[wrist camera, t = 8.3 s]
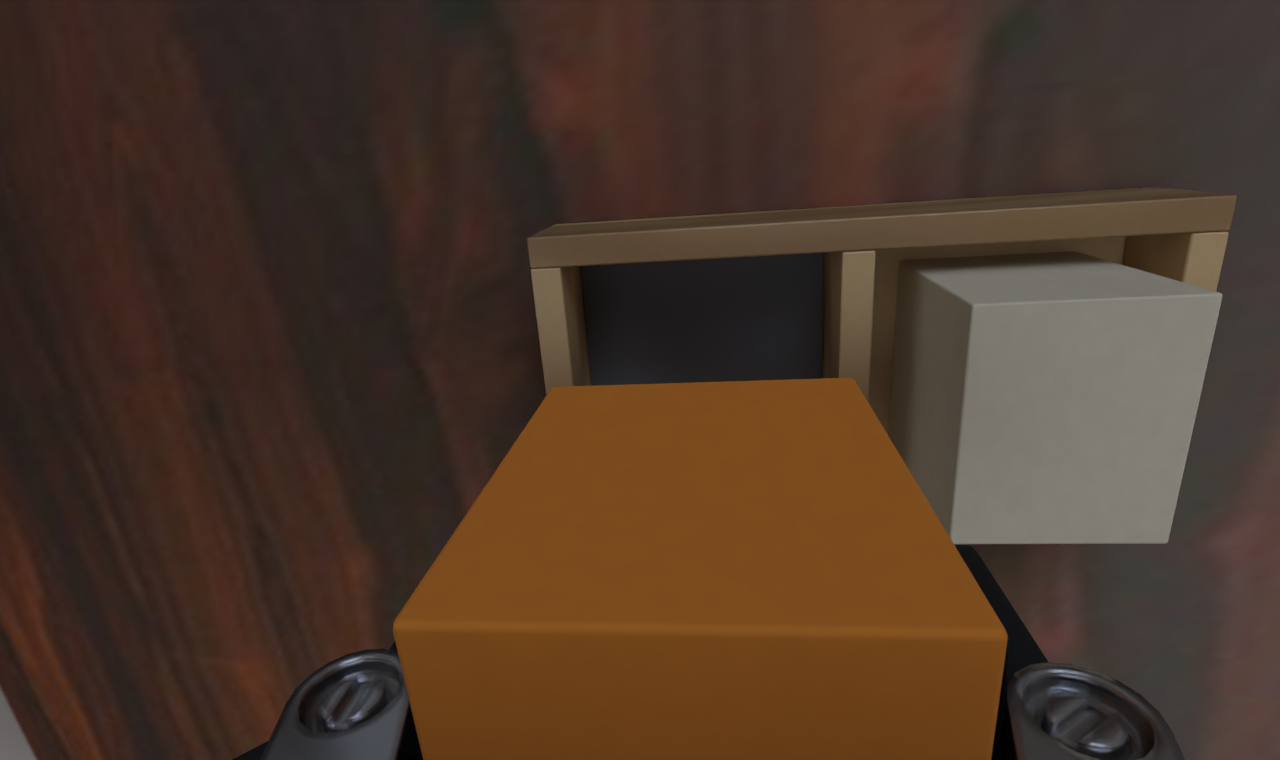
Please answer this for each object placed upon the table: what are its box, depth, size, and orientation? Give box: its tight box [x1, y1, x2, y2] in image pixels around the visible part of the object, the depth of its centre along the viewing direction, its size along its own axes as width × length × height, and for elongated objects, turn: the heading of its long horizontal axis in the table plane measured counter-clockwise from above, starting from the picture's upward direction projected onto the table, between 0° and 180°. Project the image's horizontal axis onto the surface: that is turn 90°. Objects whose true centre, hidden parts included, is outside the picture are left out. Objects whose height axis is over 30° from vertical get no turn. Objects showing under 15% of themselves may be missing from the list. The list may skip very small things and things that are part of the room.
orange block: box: [393, 378, 1008, 760], centre depth 8 cm, size 6×5×6 cm
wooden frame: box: [527, 187, 1237, 436], centre depth 19 cm, size 9×16×3 cm, turn 94°
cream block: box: [889, 251, 1222, 544], centre depth 16 cm, size 6×5×6 cm
